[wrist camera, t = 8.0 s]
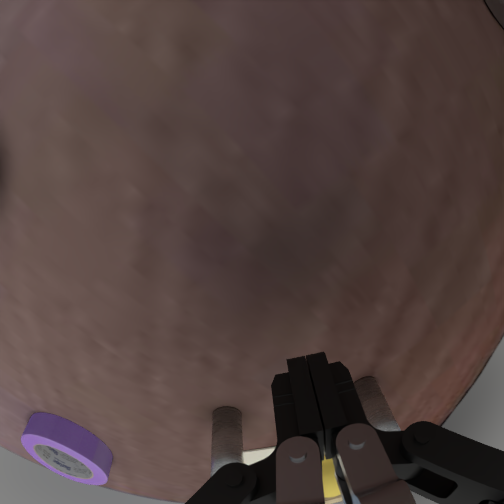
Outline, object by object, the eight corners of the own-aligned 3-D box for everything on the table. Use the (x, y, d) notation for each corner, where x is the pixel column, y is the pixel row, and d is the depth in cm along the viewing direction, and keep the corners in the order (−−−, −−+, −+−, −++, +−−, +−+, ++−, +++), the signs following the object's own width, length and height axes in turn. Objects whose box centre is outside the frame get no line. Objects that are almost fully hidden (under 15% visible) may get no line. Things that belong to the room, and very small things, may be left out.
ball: (357, 484, 28) (346, 447, 31) (360, 493, 23) (348, 451, 26) (313, 496, 28) (303, 459, 31) (310, 507, 24) (298, 466, 27)
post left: (237, 404, 25) (241, 494, 16) (244, 421, 26) (249, 504, 17) (209, 408, 25) (205, 496, 16) (217, 424, 26) (215, 507, 17)
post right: (377, 373, 24) (415, 451, 16) (375, 391, 25) (409, 465, 17) (350, 381, 24) (383, 463, 16) (349, 398, 25) (378, 477, 17)
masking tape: (131, 464, 29) (126, 488, 26) (71, 463, 30) (65, 482, 27) (70, 408, 25) (59, 434, 22) (16, 412, 26) (5, 432, 22)
